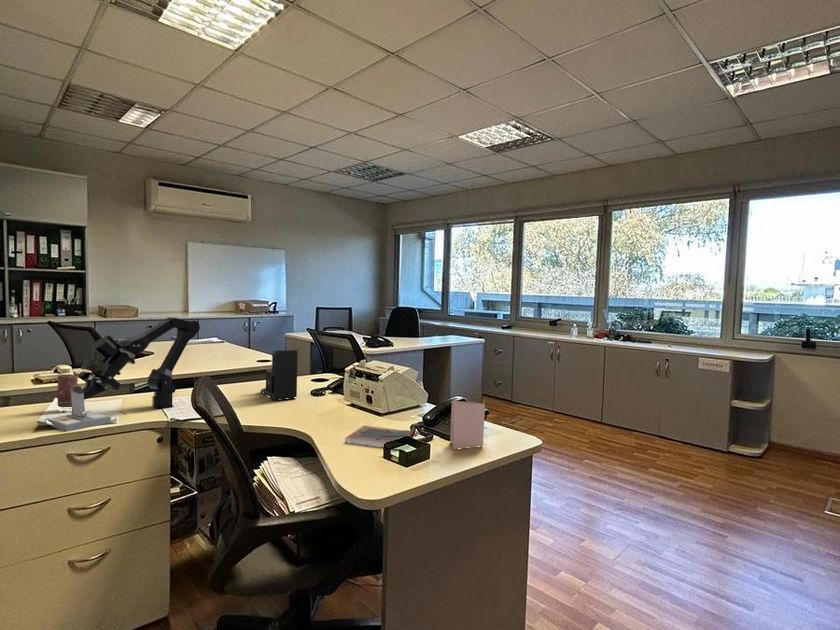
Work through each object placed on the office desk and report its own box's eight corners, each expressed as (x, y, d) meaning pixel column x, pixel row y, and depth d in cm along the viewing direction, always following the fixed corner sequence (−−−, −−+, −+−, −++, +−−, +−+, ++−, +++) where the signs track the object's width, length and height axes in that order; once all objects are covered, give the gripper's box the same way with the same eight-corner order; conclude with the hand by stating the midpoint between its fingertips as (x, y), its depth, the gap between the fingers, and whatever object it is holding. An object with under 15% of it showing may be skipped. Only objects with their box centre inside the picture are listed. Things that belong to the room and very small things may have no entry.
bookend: (260, 391, 227) (261, 345, 226) (281, 390, 233) (283, 344, 232) (273, 401, 208) (275, 350, 207) (297, 399, 214) (298, 350, 213)
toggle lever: (78, 414, 165) (76, 384, 164) (87, 416, 162) (84, 386, 161) (71, 416, 163) (68, 385, 162) (79, 418, 160) (77, 387, 159)
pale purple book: (419, 438, 164) (363, 431, 170) (419, 431, 164) (363, 424, 170) (405, 452, 148) (344, 444, 154) (406, 445, 148) (345, 437, 154)
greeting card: (483, 446, 156) (485, 403, 156) (481, 453, 149) (483, 408, 148) (450, 442, 159) (452, 400, 158) (446, 449, 152) (448, 404, 151)
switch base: (89, 416, 172) (89, 410, 172) (110, 422, 166) (110, 416, 166) (45, 424, 160) (45, 418, 159) (66, 431, 153) (66, 424, 153)
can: (81, 409, 181) (82, 374, 181) (67, 413, 175) (68, 377, 175) (67, 408, 182) (68, 373, 182) (53, 412, 176) (53, 376, 175)
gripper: (83, 349, 171) (48, 383, 162) (112, 354, 163) (77, 390, 153) (105, 368, 178) (73, 401, 169) (134, 373, 170) (102, 408, 161)
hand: (80, 399), depth 163 cm, fingers closed, pressing on toggle lever
